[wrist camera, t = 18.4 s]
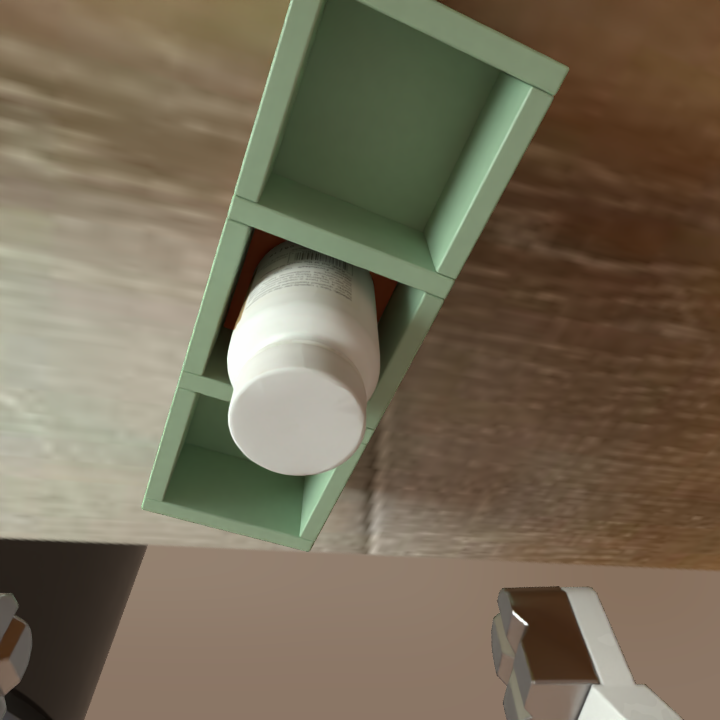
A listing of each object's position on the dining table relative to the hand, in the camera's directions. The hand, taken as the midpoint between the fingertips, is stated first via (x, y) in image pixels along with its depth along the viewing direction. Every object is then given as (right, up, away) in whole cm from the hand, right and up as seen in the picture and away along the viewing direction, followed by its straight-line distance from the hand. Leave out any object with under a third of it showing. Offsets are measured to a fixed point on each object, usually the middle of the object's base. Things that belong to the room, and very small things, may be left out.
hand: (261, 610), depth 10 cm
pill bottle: (0, +7, +11) cm, 13 cm away
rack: (0, +7, +12) cm, 14 cm away
